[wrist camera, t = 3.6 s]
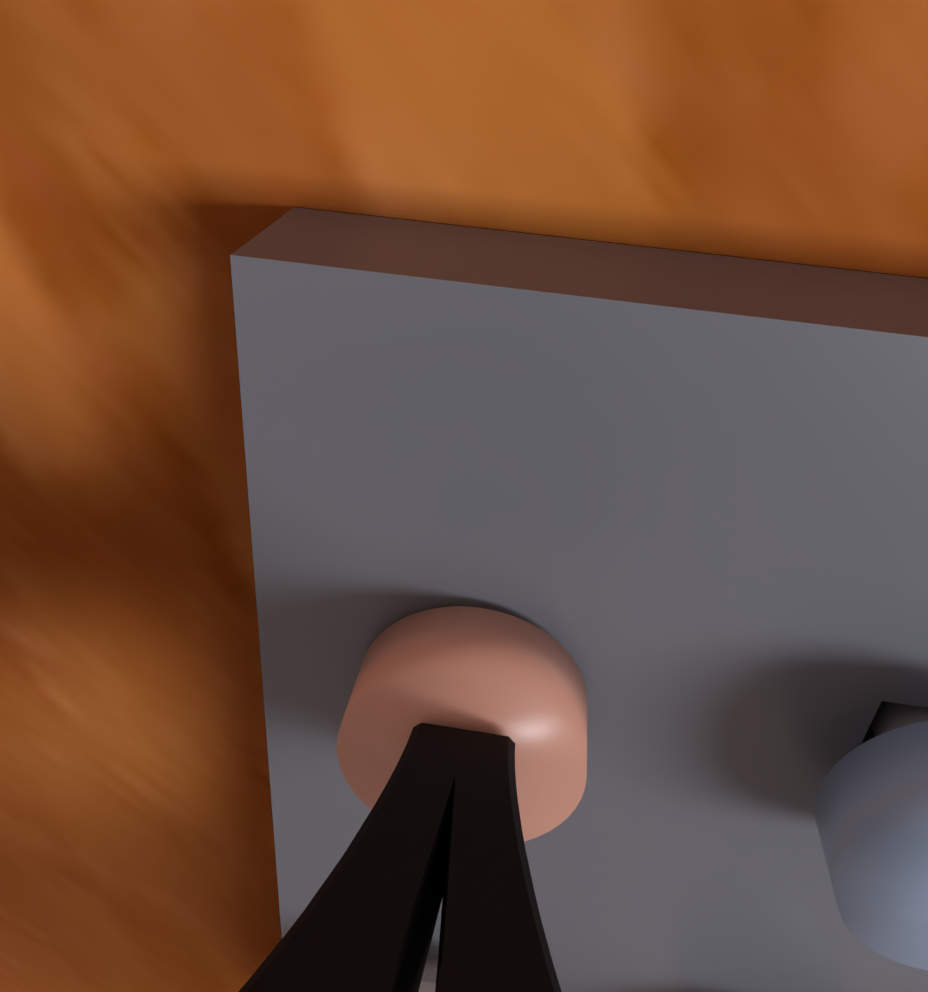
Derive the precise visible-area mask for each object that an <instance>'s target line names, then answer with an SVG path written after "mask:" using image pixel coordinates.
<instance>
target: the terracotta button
mask: <svg viewBox="0 0 928 992" xmlns="http://www.w3.org/2000/svg"><path fill="white" fill-rule="evenodd" d="M587 721H588V699H587V689H586V685H585V681H584V678H583V676H582V674H581V671H580V669H579V668H578V666H577V664H576V663H575V661H574V659H573V658H572V657H571V656H570V654H569V653H568V652H567V651H566V650H565V648H564V647H563V646H561V645H560V644H559V643H558V642H557V641H556V640H555V639H554V638H552V637H551V636H550V635H548V634H547V633H545V632H544V631H543V630H541V629H539V628H538V627H536V626H534V625H532V624H531V623H529V622H527V621H524V620H522V619H520V618H517V617H515V616H512V615H509V614H506V613H502V612H499V611H495V610H490V609H485V608H478V607H467V606H450V607H441V608H434V609H429V610H425V611H421V612H418V613H415V614H412V615H409V616H407V617H405V618H403V619H401V620H399V621H397V622H395V623H394V624H392V625H391V626H389V627H388V628H387V629H385V630H384V631H383V632H382V633H381V634H380V635H379V636H378V637H377V638H376V639H375V640H374V642H373V643H372V644H371V646H370V647H369V649H368V651H367V653H366V655H365V657H364V659H363V662H362V665H361V668H360V671H359V674H358V676H357V679H356V682H355V685H354V688H353V691H352V694H351V697H350V700H349V702H348V705H347V708H346V711H345V714H344V717H343V720H342V723H341V726H340V729H339V733H338V736H337V756H338V761H339V765H340V768H341V771H342V773H343V775H344V777H345V779H346V781H347V783H348V784H349V786H350V787H351V789H352V790H353V791H354V793H355V794H356V795H357V796H358V797H359V798H360V800H361V801H362V802H363V803H365V804H366V805H367V806H368V807H369V808H370V809H371V810H372V808H373V807H374V805H375V803H376V802H377V800H378V798H379V796H380V795H381V793H382V791H383V789H384V788H385V786H386V784H387V782H388V780H389V779H390V777H391V775H392V773H393V771H394V769H395V767H396V765H397V763H398V761H399V759H400V757H401V755H402V753H403V751H404V749H405V746H406V744H407V742H408V739H409V737H410V734H411V732H412V729H413V727H414V726H416V725H418V724H420V723H428V724H435V725H441V726H447V727H453V728H460V729H466V730H472V731H478V732H485V733H491V734H497V735H503V736H509V737H510V738H511V739H512V741H513V742H514V743H515V775H516V788H517V797H518V805H519V812H520V819H521V826H522V832H523V838H524V842H525V841H528V840H531V839H534V838H536V837H539V836H541V835H543V834H545V833H547V832H549V831H551V830H552V829H554V828H555V827H557V826H558V825H560V824H561V823H562V822H563V821H564V820H566V819H567V818H568V817H569V816H570V815H571V813H572V812H573V811H574V810H575V809H576V807H577V805H578V804H579V802H580V800H581V798H582V796H583V793H584V790H585V786H586V778H587Z"/></svg>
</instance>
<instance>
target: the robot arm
mask: <svg viewBox="0 0 928 992" xmlns="http://www.w3.org/2000/svg"><path fill="white" fill-rule="evenodd" d="M442 897H443V898H442ZM441 901H442V911H441V924H440V936H439V949H438V962H437V975H436V988H435V992H562V991H561V988H560V985H559V982H558V978H557V975H556V971H555V968H554V965H553V961H552V958H551V954H550V950H549V947H548V943H547V939H546V936H545V932H544V928H543V925H542V921H541V917H540V913H539V909H538V904H537V900H536V896H535V892H534V887H533V882H532V878H531V873H530V868H529V864H528V859H527V854H526V849H525V844H524V838H523V832H522V826H521V819H520V812H519V805H518V797H517V788H516V775H515V743H514V742H513V741H512V739H511V738H510V737H509V736H503V735H497V734H491V733H485V732H478V731H472V730H466V729H460V728H453V727H447V726H441V725H435V724H428V723H420V724H418V725H416V726H414V727H413V729H412V732H411V734H410V737H409V739H408V742H407V744H406V746H405V749H404V751H403V753H402V755H401V757H400V759H399V761H398V763H397V765H396V767H395V769H394V771H393V773H392V775H391V777H390V779H389V780H388V782H387V784H386V786H385V788H384V789H383V791H382V793H381V795H380V796H379V798H378V800H377V802H376V803H375V805H374V807H373V808H372V810H371V812H370V813H369V815H368V816H367V818H366V820H365V821H364V823H363V824H362V826H361V828H360V829H359V831H358V832H357V834H356V836H355V837H354V839H353V840H352V842H351V844H350V845H349V847H348V848H347V850H346V851H345V853H344V854H343V856H342V857H341V859H340V860H339V862H338V863H337V865H336V866H335V867H334V869H333V870H332V872H331V873H330V875H329V876H328V877H327V879H326V880H325V882H324V883H323V884H322V886H321V887H320V889H319V890H318V891H317V893H316V894H315V896H314V897H313V898H312V900H311V901H310V903H309V904H308V905H307V907H306V908H305V910H304V911H303V912H302V914H301V915H300V916H299V918H298V919H297V920H296V922H295V923H294V924H293V925H292V927H291V928H290V929H289V931H288V932H287V933H286V935H285V936H284V937H283V938H282V940H281V941H280V942H279V943H278V945H277V946H276V947H275V949H274V950H273V951H272V952H271V953H270V955H269V956H268V957H267V958H266V960H265V961H264V962H263V963H262V964H261V966H260V967H259V968H258V969H257V971H256V972H255V973H254V974H253V975H252V977H251V978H250V979H249V980H248V981H247V983H246V984H245V985H244V986H243V987H242V988H241V989H240V991H239V992H419V988H420V984H421V980H422V976H423V972H424V968H425V964H426V960H427V956H428V953H429V949H430V945H431V941H432V937H433V933H434V929H435V925H436V921H437V917H438V913H439V909H440V905H441Z"/></svg>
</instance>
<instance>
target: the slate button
mask: <svg viewBox="0 0 928 992" xmlns="http://www.w3.org/2000/svg"><path fill="white" fill-rule="evenodd" d="M870 726H871V729H872V732H873V734H874V738H872V739H870V740H868V741H867V742H865V743H863V744H861V745H859V746H858V747H856V748H855V749H853V750H852V751H851V752H849V753H848V754H846V755H845V756H844V757H843V758H842V759H841V760H840V761H838V762H837V763H836V764H835V765H834V766H833V767H832V769H831V770H830V771H829V772H828V774H827V775H826V776H825V778H824V780H823V781H822V783H821V785H820V787H819V789H818V792H817V795H816V799H815V806H814V812H815V820H816V824H817V828H818V832H819V836H820V840H821V843H822V847H823V851H824V855H825V859H826V863H827V867H828V870H829V874H830V878H831V882H832V886H833V890H834V894H835V897H836V901H837V905H838V909H839V912H840V916H841V918H842V920H843V922H844V923H845V925H846V927H847V928H848V929H849V931H850V932H851V933H852V934H853V935H854V936H855V937H856V938H857V939H858V940H859V941H860V942H861V943H863V944H864V945H865V946H867V947H868V948H870V949H871V950H873V951H874V952H876V953H878V954H880V955H882V956H884V957H886V958H888V959H891V960H893V961H896V962H898V963H901V964H904V965H908V966H911V967H914V968H918V969H923V970H928V708H926V707H919V706H913V705H906V704H899V703H893V702H886V701H882V702H881V704H880V706H879V708H878V710H877V712H876V714H875V716H874V718H873V720H872V722H871V724H870Z"/></svg>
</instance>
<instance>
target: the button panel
mask: <svg viewBox="0 0 928 992" xmlns="http://www.w3.org/2000/svg"><path fill="white" fill-rule="evenodd" d="M230 261H231V274H232V287H233V301H234V314H235V327H236V340H237V354H238V367H239V380H240V393H241V406H242V420H243V433H244V446H245V459H246V473H247V486H248V499H249V512H250V525H251V539H252V552H253V565H254V578H255V592H256V605H257V618H258V631H259V644H260V658H261V671H262V684H263V697H264V711H265V724H266V737H267V750H268V763H269V777H270V790H271V803H272V816H273V830H274V843H275V856H276V869H277V882H278V896H279V909H280V922H281V935H282V938H283V937H284V936H285V935H286V933H287V932H288V931H289V929H290V928H291V927H292V925H293V924H294V923H295V922H296V920H297V919H298V918H299V916H300V915H301V914H302V912H303V911H304V910H305V908H306V907H307V905H308V904H309V903H310V901H311V900H312V898H313V897H314V896H315V894H316V893H317V891H318V890H319V889H320V887H321V886H322V884H323V883H324V882H325V880H326V879H327V877H328V876H329V875H330V873H331V872H332V870H333V869H334V867H335V866H336V865H337V863H338V862H339V860H340V859H341V857H342V856H343V854H344V853H345V851H346V850H347V848H348V847H349V845H350V844H351V842H352V840H353V839H354V837H355V836H356V834H357V832H358V831H359V829H360V828H361V826H362V824H363V823H364V821H365V820H366V818H367V816H368V815H369V813H370V812H371V809H370V808H369V807H368V806H367V805H366V804H365V803H363V802H362V801H361V800H360V798H359V797H358V796H357V795H356V794H355V793H354V791H353V790H352V789H351V787H350V786H349V784H348V783H347V781H346V779H345V777H344V775H343V773H342V771H341V768H340V765H339V761H338V756H337V736H338V733H339V729H340V726H341V723H342V720H343V717H344V714H345V711H346V708H347V705H348V702H349V700H350V697H351V694H352V691H353V688H354V685H355V682H356V679H357V676H358V674H359V671H360V668H361V665H362V662H363V659H364V657H365V655H366V653H367V651H368V649H369V647H370V646H371V644H372V643H373V642H374V640H375V639H376V638H377V637H378V636H379V635H380V634H381V633H382V632H383V631H384V630H385V629H387V628H388V627H389V626H391V625H392V624H394V623H395V622H397V621H399V620H401V619H403V618H405V617H407V616H409V615H412V614H415V613H418V612H421V611H425V610H429V609H434V608H441V607H450V606H467V607H478V608H485V609H490V610H495V611H499V612H502V613H506V614H509V615H512V616H515V617H517V618H520V619H522V620H524V621H527V622H529V623H531V624H532V625H534V626H536V627H538V628H539V629H541V630H543V631H544V632H545V633H547V634H548V635H550V636H551V637H552V638H554V639H555V640H556V641H557V642H558V643H559V644H560V645H561V646H563V647H564V648H565V650H566V651H567V652H568V653H569V654H570V656H571V657H572V658H573V659H574V661H575V663H576V664H577V666H578V668H579V669H580V671H581V674H582V676H583V678H584V681H585V685H586V689H587V699H588V721H587V778H586V786H585V790H584V793H583V796H582V798H581V800H580V802H579V804H578V805H577V807H576V809H575V810H574V811H573V812H572V813H571V815H570V816H569V817H568V818H567V819H566V820H564V821H563V822H562V823H561V824H560V825H558V826H557V827H555V828H554V829H552V830H551V831H549V832H547V833H545V834H543V835H541V836H539V837H536V838H534V839H531V840H528V841H525V842H524V844H525V849H526V854H527V859H528V864H529V868H530V873H531V878H532V882H533V887H534V892H535V896H536V900H537V904H538V909H539V913H540V917H541V921H542V925H543V928H544V932H545V936H546V939H547V943H548V947H549V950H550V954H551V958H552V961H553V965H554V968H555V971H556V975H557V978H558V982H559V985H560V988H561V991H562V992H928V970H923V969H918V968H914V967H911V966H908V965H904V964H901V963H898V962H896V961H893V960H891V959H888V958H886V957H884V956H882V955H880V954H878V953H876V952H874V951H873V950H871V949H870V948H868V947H867V946H865V945H864V944H863V943H861V942H860V941H859V940H858V939H857V938H856V937H855V936H854V935H853V934H852V933H851V932H850V931H849V929H848V928H847V927H846V925H845V923H844V922H843V920H842V918H841V916H840V912H839V909H838V905H837V901H836V897H835V894H834V890H833V886H832V882H831V878H830V874H829V870H828V867H827V863H826V859H825V855H824V851H823V847H822V843H821V840H820V836H819V832H818V828H817V824H816V820H815V812H814V806H815V799H816V795H817V792H818V789H819V787H820V785H821V783H822V781H823V780H824V778H825V776H826V775H827V774H828V772H829V771H830V770H831V769H832V767H833V766H834V765H835V764H836V763H837V762H838V761H840V760H841V759H842V758H843V757H844V756H845V755H846V754H848V753H849V752H851V751H852V750H853V749H855V748H856V747H858V746H859V745H861V744H863V743H865V742H867V741H868V740H870V739H872V738H874V734H873V732H872V729H871V726H870V724H871V722H872V720H873V718H874V716H875V714H876V712H877V710H878V708H879V706H880V704H881V702H882V701H886V702H893V703H899V704H906V705H913V706H919V707H926V708H928V279H926V278H917V277H908V276H899V275H890V274H881V273H873V272H864V271H855V270H846V269H837V268H828V267H819V266H811V265H802V264H793V263H784V262H775V261H766V260H757V259H749V258H740V257H731V256H722V255H713V254H704V253H695V252H687V251H678V250H669V249H660V248H651V247H642V246H634V245H625V244H616V243H607V242H598V241H589V240H580V239H572V238H563V237H554V236H545V235H536V234H527V233H518V232H510V231H501V230H492V229H483V228H474V227H465V226H456V225H448V224H439V223H430V222H421V221H412V220H403V219H395V218H386V217H377V216H368V215H359V214H350V213H341V212H333V211H324V210H315V209H306V208H297V207H294V208H292V209H291V210H289V211H288V212H287V213H285V214H284V215H283V216H281V217H280V218H279V219H277V220H276V221H275V222H273V223H272V224H271V225H269V226H268V227H267V228H265V229H264V230H263V231H261V232H260V233H259V234H257V235H256V236H255V237H253V238H252V239H251V240H249V241H248V242H247V243H245V244H244V245H243V246H241V247H240V248H239V249H237V250H236V251H235V252H233V253H232V254H231V255H230ZM442 898H443V897H442ZM441 911H442V901H441V905H440V909H439V913H438V917H437V921H436V925H435V929H434V933H433V937H432V941H431V945H430V949H429V953H428V956H427V957H428V958H434V959H438V949H439V936H440V924H441Z"/></svg>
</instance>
